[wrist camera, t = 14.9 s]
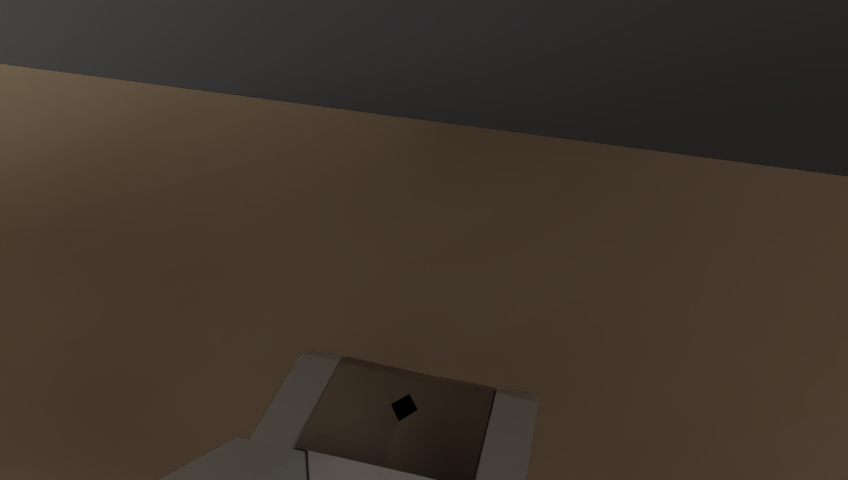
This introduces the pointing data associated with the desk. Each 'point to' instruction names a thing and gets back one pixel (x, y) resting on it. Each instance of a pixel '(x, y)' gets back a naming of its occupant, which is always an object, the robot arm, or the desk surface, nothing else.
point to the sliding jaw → (490, 64)
